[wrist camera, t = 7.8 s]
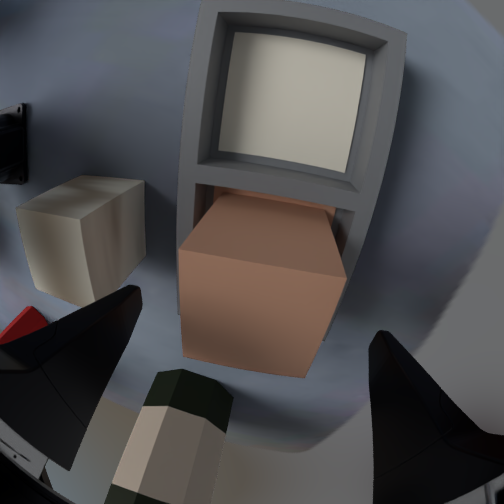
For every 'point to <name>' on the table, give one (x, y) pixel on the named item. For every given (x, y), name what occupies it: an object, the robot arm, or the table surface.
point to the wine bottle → (174, 443)
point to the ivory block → (84, 236)
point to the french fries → (23, 325)
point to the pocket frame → (289, 114)
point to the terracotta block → (258, 285)
